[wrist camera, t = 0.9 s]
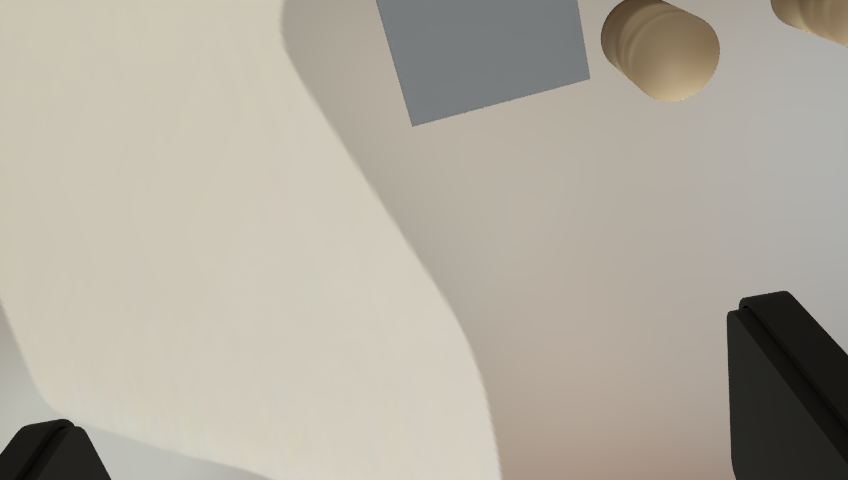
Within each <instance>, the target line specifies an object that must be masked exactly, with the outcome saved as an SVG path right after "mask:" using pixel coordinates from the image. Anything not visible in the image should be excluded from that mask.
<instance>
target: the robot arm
mask: <svg viewBox="0 0 848 480" xmlns="http://www.w3.org/2000/svg"><path fill="white" fill-rule="evenodd" d="M727 343H728V371H729V401H730V402H729V403H730V432H731V459H732V466H733V471H734V474H735V477H736V480H848V355H847V354H846V353H845V352H844V350H842V348H841V347H840V346H839V345H838V344H837V343H836V342H835V341H834V340H833V339H832V338H831V336H830V335H829V334H828V333H827V332H826V331H825V330H824V329H823V328H822V327H821V326H820V325H819V324H818V322H817V321H816V320H815V319H814V318H813V317H812V316H811V315H810V314H809V313H808V312H807V311H806V310H805V309H804V308H803V306H802V305H801V304H800V303H799V302H798V301H797V300H796V299H795V298H794V297H793V296H792V295H791V294H790V293H789V292H788V291H779V292H774V293H768V294H763V295H757V296H752V297H746V298H742V299H741V300H740V303H739V310H734V311H730V312H728V315H727ZM0 480H111V478H110V476H109V475H108V473H107V471H106V469H105V467H104V465H103V463H102V461H101V459H100V458H99V456H98V454H97V452H96V450H95V448H94V446H93V444H92V442H91V441H90V439H89V437H88V435H87V433H86V432H85V430H84V429H82V428H81V427H77V426H74V424H73V423H72V422H70V421H69V420H66V419H58V420H53V421H48V422H42V423H36V424H30V425H27V426H24V427H22V428H21V429H20V430H19V431H18V432H17V433H16V435H15V436H14V437H13V438H12V440H11V441H10V443H9V444H8V445H7V447H6V448H5V449H4V450H3V452H2V453H1V454H0Z"/></svg>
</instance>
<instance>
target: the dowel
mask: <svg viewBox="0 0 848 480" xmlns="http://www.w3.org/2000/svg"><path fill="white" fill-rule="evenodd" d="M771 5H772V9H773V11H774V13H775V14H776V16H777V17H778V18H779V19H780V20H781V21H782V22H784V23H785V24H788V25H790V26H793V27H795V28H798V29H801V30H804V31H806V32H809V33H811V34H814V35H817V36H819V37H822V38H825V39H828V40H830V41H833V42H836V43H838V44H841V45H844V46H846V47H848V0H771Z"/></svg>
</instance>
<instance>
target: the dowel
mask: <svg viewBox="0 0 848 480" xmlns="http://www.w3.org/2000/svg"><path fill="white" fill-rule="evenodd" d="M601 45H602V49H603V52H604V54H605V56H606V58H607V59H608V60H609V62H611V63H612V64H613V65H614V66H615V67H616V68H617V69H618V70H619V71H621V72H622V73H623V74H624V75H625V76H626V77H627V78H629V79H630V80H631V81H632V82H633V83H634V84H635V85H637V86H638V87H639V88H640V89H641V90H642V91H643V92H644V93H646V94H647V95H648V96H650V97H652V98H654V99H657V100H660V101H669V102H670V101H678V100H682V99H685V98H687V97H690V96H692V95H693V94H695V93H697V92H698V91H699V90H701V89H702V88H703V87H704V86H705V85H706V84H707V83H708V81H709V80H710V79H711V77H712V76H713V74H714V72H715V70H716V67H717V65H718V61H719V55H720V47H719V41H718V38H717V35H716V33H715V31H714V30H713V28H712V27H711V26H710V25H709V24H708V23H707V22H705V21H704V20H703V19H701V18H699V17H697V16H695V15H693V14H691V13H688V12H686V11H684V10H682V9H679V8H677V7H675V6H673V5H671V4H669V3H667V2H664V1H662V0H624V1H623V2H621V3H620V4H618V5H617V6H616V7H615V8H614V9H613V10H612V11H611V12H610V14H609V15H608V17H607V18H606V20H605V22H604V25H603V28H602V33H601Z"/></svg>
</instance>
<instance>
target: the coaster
mask: <svg viewBox="0 0 848 480" xmlns="http://www.w3.org/2000/svg"><path fill="white" fill-rule="evenodd" d="M376 2H377V6H378V9H379V13H380V16H381V20H382V23H383V27H384V30H385V33H386V37H387V40H388V44H389V47H390V51H391V54H392V57H393V61H394V65H395V68H396V72H397V75H398V78H399V82H400V85H401V89H402V92H403V96H404V99H405V103H406V106H407V109H408V113H409V117H410V120H411V124H412V126H417V125H420V124H424V123H428V122H431V121H435V120H439V119H443V118H446V117H450V116H454V115H457V114H461V113H465V112H469V111H472V110H476V109H480V108H484V107H487V106H491V105H495V104H499V103H502V102H506V101H510V100H513V99H517V98H521V97H525V96H528V95H532V94H536V93H540V92H543V91H547V90H551V89H555V88H558V87H562V86H565V85H569V84H573V83H577V82H581V81H584V80H588V79H590V75H589V69H588V63H587V57H586V51H585V45H584V39H583V33H582V27H581V21H580V15H579V9H578V3H577V0H376Z"/></svg>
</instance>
